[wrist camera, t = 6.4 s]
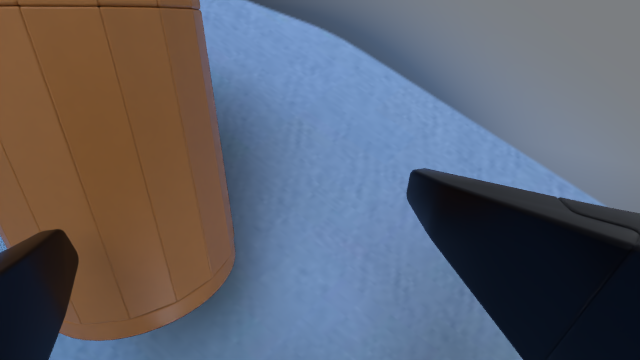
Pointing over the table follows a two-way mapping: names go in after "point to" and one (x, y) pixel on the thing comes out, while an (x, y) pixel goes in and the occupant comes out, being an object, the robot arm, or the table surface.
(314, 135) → the table surface
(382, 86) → the table surface
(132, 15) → the jar
